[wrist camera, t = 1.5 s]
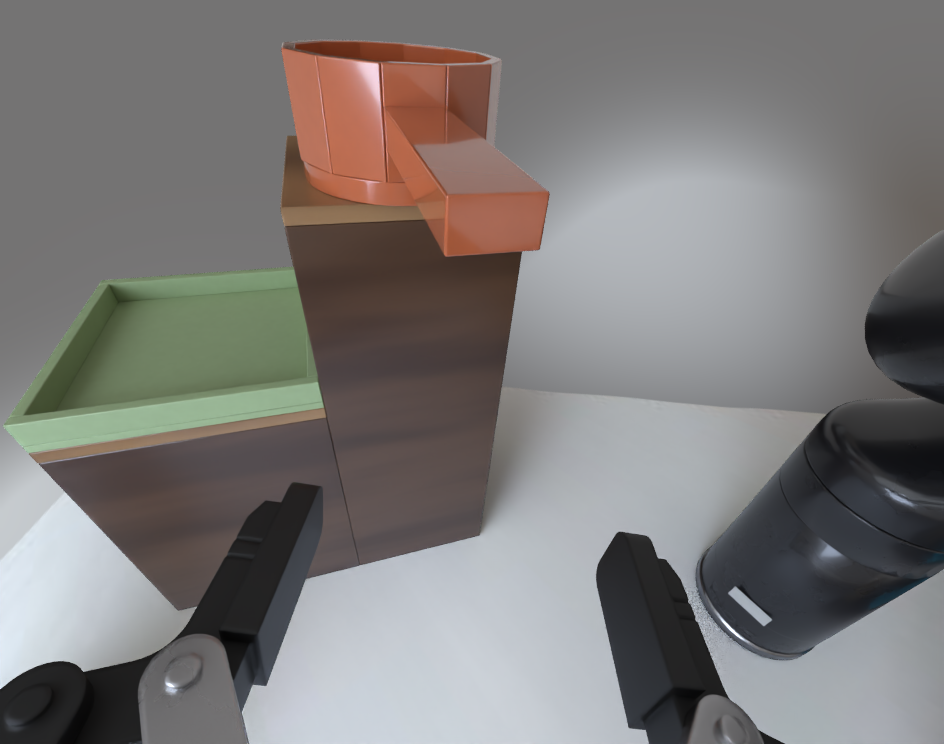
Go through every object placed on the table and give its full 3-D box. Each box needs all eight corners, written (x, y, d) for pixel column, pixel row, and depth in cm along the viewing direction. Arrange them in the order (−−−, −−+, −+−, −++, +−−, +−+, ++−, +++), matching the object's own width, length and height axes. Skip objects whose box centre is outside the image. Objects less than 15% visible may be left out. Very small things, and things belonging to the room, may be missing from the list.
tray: (324, 408, 25) (318, 382, 24) (27, 453, 21) (1, 426, 20) (317, 287, 35) (313, 265, 34) (115, 304, 31) (101, 280, 30)
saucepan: (628, 316, 13) (696, 127, 10) (310, 355, 10) (257, 122, 7) (461, 149, 26) (466, 46, 23) (304, 150, 24) (284, 35, 20)
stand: (479, 535, 40) (530, 198, 20) (177, 611, 34) (-191, 225, 14) (443, 426, 50) (454, 129, 30) (205, 469, 44) (16, 125, 24)
